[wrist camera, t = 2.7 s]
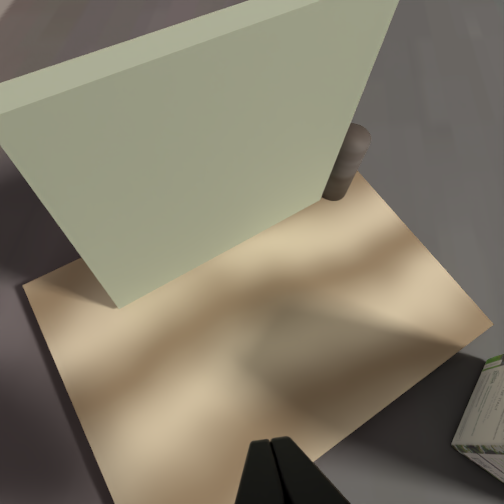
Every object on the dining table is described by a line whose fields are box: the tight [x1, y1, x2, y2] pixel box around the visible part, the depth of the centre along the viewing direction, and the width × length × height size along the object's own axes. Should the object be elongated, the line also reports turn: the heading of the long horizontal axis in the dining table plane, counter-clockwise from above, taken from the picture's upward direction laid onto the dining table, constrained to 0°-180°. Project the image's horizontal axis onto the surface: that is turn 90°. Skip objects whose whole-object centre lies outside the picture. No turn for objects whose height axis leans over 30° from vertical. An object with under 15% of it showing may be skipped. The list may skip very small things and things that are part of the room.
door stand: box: [22, 123, 494, 504], centre depth 21 cm, size 16×22×6 cm
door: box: [0, 0, 399, 309], centre depth 18 cm, size 3×14×14 cm, turn 123°
